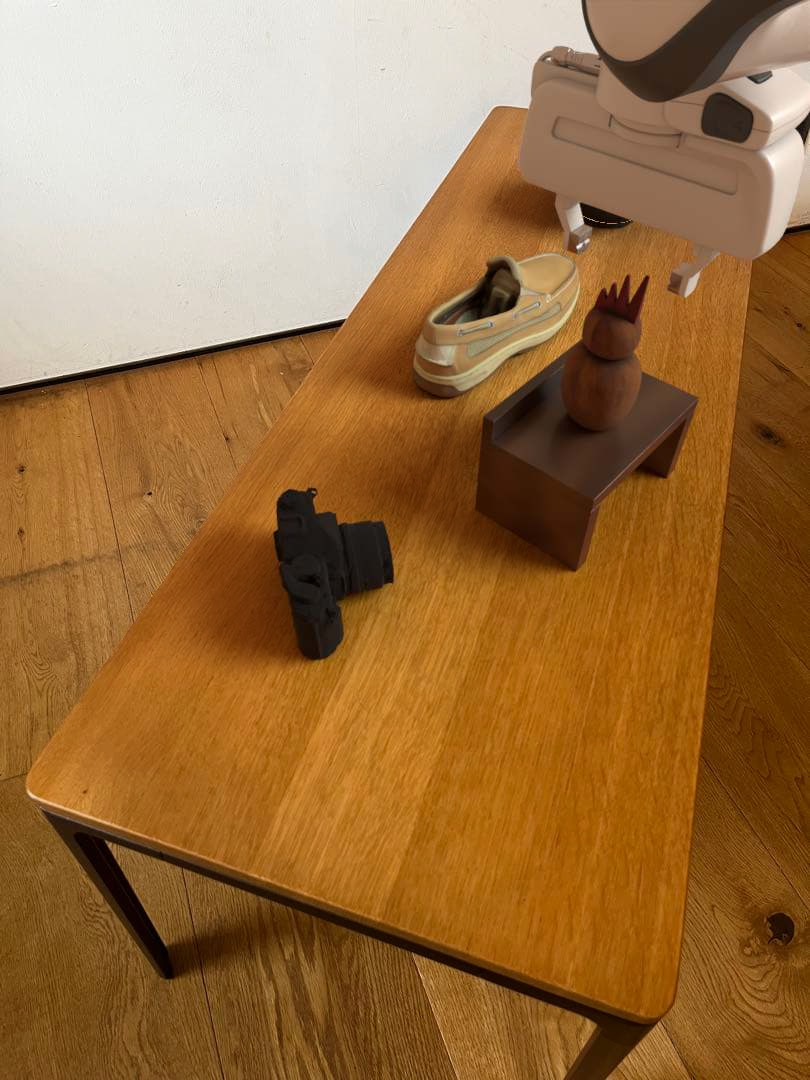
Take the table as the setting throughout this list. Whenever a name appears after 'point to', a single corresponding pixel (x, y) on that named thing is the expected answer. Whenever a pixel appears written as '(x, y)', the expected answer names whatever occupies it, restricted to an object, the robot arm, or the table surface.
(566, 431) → the display shelf
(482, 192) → the table surface
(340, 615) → the film camera
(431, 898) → the table surface
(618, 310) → the wooden figurine
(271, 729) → the table surface
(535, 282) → the boat shoe
